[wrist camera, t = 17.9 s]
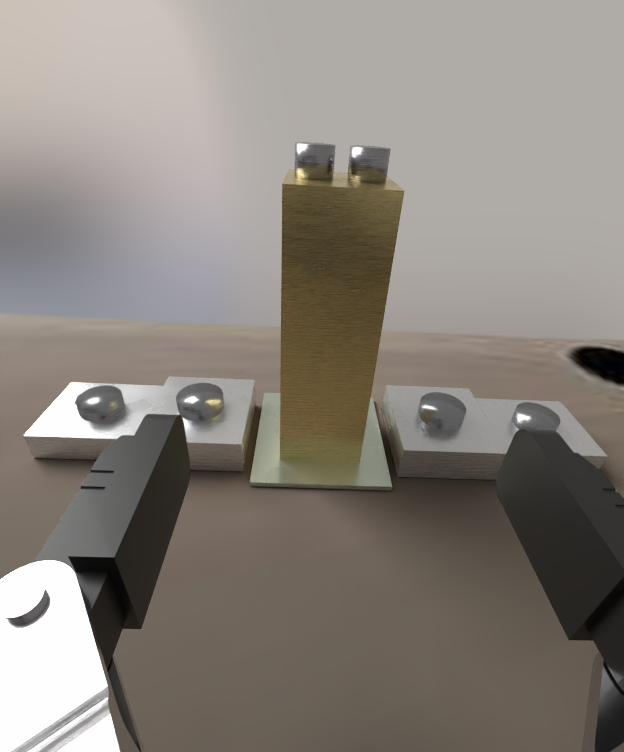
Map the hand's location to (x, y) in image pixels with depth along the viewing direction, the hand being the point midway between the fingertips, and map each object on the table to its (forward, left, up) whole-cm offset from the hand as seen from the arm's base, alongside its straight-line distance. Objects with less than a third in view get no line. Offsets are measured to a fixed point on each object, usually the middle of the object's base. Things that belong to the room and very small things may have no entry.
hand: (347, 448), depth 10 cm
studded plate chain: (0, +11, -10) cm, 15 cm away
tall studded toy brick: (0, +11, -9) cm, 15 cm away
